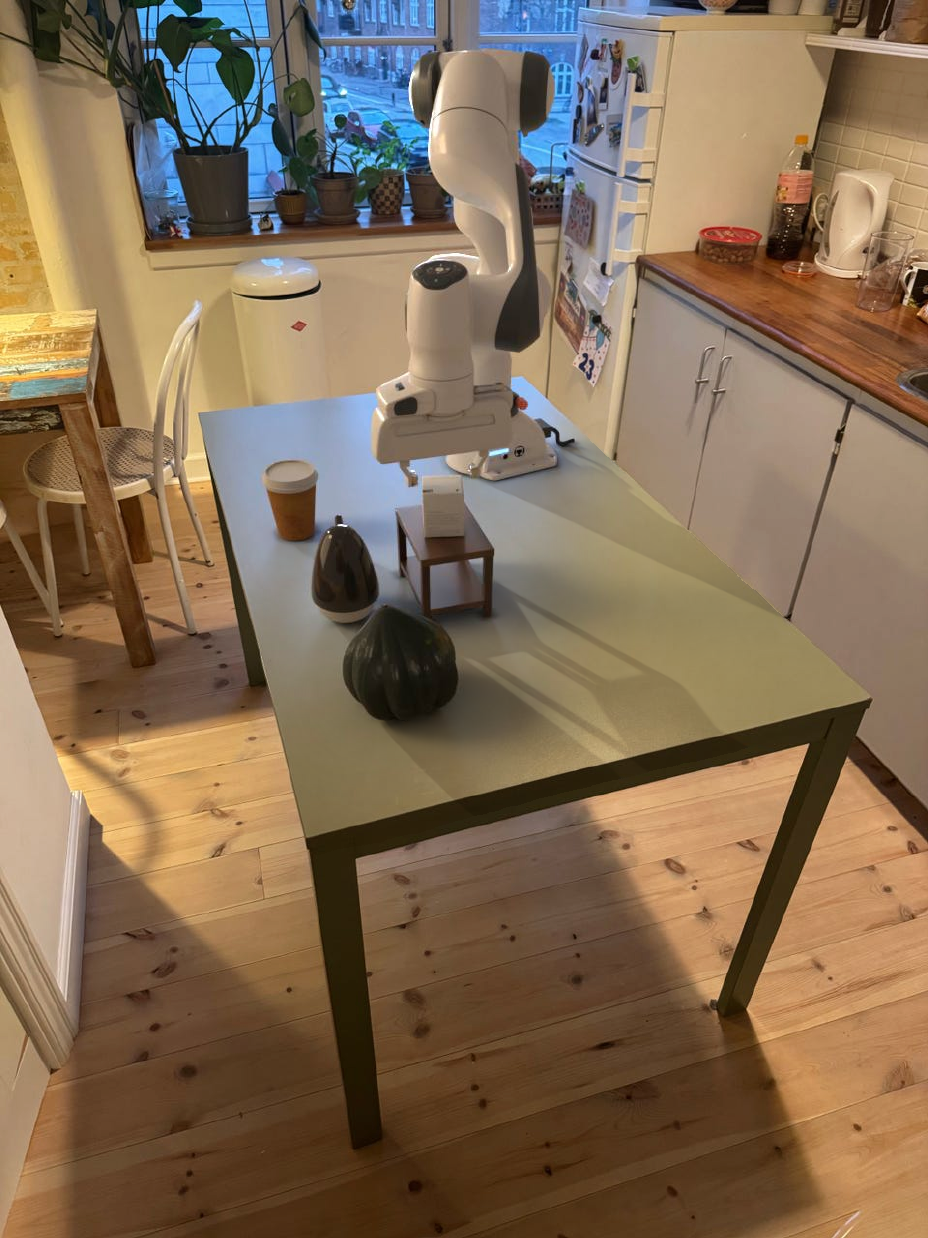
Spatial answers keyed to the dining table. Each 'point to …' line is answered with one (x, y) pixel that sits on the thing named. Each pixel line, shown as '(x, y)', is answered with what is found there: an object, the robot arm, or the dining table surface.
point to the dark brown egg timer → (344, 575)
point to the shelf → (445, 564)
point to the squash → (400, 664)
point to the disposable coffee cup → (292, 497)
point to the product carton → (443, 506)
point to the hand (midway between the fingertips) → (443, 480)
